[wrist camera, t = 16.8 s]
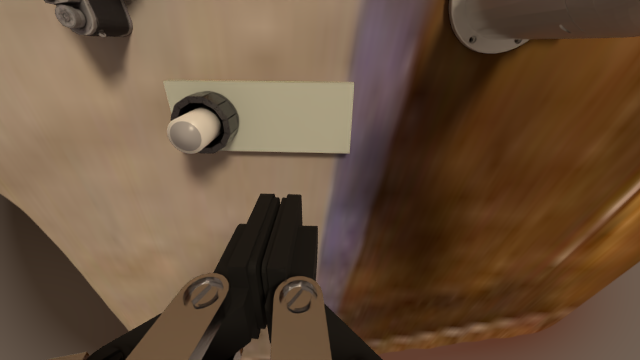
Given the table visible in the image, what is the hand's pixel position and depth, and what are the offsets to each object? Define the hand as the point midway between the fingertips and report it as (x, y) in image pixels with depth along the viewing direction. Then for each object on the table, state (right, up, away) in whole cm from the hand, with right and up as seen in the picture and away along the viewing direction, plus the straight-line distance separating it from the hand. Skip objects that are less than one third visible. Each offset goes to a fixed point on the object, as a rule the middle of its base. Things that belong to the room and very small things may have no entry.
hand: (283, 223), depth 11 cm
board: (-7, +11, +27) cm, 30 cm away
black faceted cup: (-14, +11, +26) cm, 32 cm away
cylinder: (-14, +10, +25) cm, 31 cm away
